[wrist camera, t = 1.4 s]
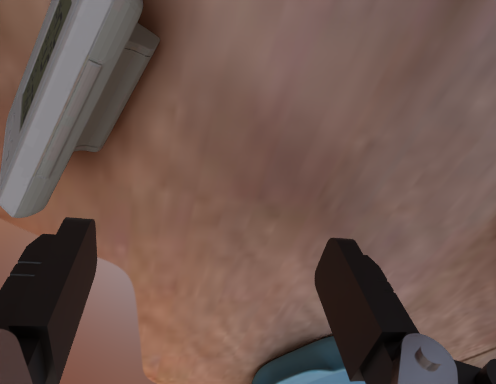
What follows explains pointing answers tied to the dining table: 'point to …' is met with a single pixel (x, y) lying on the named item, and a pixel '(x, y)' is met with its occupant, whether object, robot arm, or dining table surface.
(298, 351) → the casserole dish
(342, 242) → the robot arm
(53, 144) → the digital clock
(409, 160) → the dining table surface
